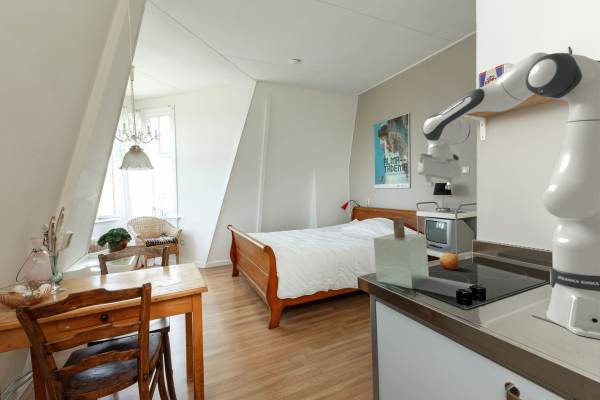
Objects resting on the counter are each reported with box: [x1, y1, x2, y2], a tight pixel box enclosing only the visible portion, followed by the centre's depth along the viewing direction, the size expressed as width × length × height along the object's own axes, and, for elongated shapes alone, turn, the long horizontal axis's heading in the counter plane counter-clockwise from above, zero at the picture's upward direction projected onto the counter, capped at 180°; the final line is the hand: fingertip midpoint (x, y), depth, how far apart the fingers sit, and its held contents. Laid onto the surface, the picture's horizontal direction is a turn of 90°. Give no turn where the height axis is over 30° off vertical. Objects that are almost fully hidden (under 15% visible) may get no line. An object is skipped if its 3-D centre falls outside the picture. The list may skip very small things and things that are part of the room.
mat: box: [413, 276, 474, 298], centre depth 106 cm, size 17×17×1 cm
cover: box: [373, 216, 430, 290], centre depth 115 cm, size 15×15×26 cm
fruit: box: [439, 252, 460, 271], centre depth 129 cm, size 8×8×8 cm
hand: (439, 187), depth 119 cm, fingers open, 8 cm apart
